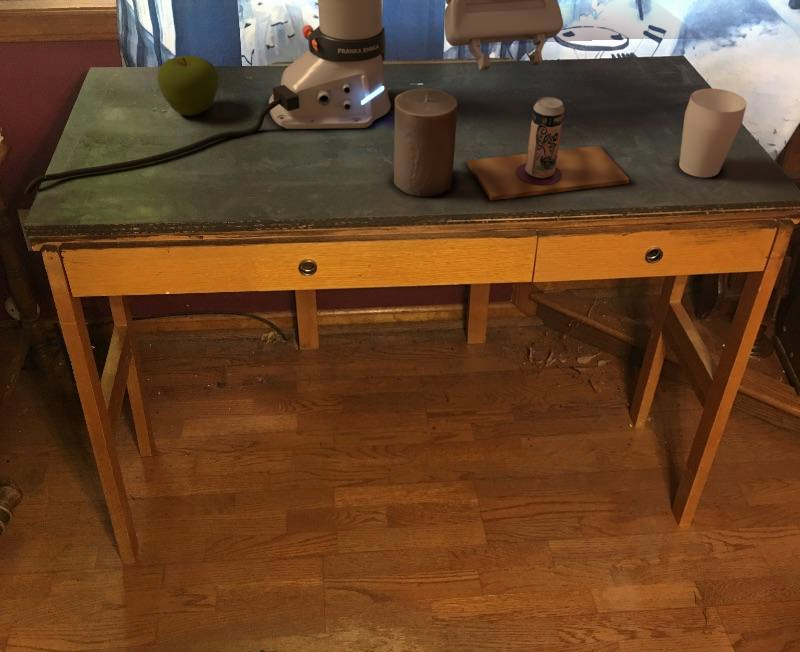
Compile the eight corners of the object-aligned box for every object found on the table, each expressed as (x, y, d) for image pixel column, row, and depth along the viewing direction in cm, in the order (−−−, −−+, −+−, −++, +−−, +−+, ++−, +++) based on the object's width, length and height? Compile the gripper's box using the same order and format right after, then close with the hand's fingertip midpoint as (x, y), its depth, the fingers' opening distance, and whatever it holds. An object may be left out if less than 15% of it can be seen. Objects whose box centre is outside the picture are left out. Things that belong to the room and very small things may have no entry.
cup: (728, 184, 141) (750, 115, 133) (672, 178, 143) (690, 109, 134) (724, 158, 148) (745, 91, 140) (671, 152, 149) (688, 85, 141)
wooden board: (490, 200, 136) (491, 195, 136) (467, 164, 145) (467, 159, 144) (628, 183, 141) (629, 178, 140) (598, 149, 149) (599, 144, 149)
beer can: (535, 182, 139) (545, 111, 131) (519, 169, 142) (528, 99, 134) (560, 176, 141) (571, 105, 132) (543, 163, 144) (553, 93, 135)
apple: (196, 130, 152) (187, 75, 145) (150, 116, 155) (140, 61, 148) (234, 107, 159) (227, 53, 152) (189, 94, 162) (181, 41, 155)
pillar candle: (456, 171, 143) (463, 83, 132) (446, 201, 136) (452, 110, 126) (399, 164, 144) (401, 76, 134) (387, 193, 137) (388, 103, 127)
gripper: (546, -12, 149) (559, 68, 150) (435, -4, 144) (449, 78, 145) (562, -30, 143) (575, 54, 144) (446, -22, 138) (460, 64, 139)
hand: (511, 66), depth 144 cm, fingers open, 8 cm apart
